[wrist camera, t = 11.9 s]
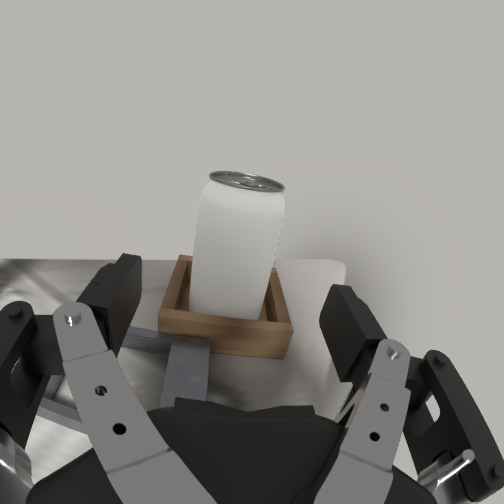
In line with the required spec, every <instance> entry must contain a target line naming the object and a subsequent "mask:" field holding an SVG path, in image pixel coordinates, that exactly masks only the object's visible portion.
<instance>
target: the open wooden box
mask: <svg viewBox="0 0 504 504" xmlns="http://www.w3.org/2000/svg"><path fill="white" fill-rule="evenodd" d="M192 261H193V256H186V255H179V258H178V261H177V263H176V266H175V269H174V272H173V274H172V277H171V280H170V283H169V285H168V288H167V291H166V294H165V297H164V300H163V302H162V305H161V308H160V311H159V314H158V332H163V333H169V334H175V335H182V336H188V337H195V338H203V339H210V340H211V342H210V352H211V353H220V354H229V355H239V356H250V357H263V358H279V359H283V358H284V356H285V353H286V350H287V348H288V345H289V342H290V340H291V337H292V334H293V329H292V325H291V321H290V318H289V314H288V310H287V306H286V303H285V299H284V296H283V292H282V288H281V285H280V281H279V277H278V274H277V270H276V268H272V270H271V274H270V278H269V282H268V286H267V290H266V294H265V298H264V301H263V305H262V309H261V313H260V316H259V319H258V320H249V319H240V318H231V317H223V316H215V315H208V314H201V313H193V312H190V310H189V295H190V282H191V271H192Z"/></svg>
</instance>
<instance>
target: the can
mask: <svg viewBox="0 0 504 504" xmlns="http://www.w3.org/2000/svg"><path fill="white" fill-rule="evenodd" d="M209 177H210V180H209V182H208V184H207V185H206V186H205V188H204V190H203V191H202V193H201V197H200V203H199V210H198V218H197V225H196V234H195V242H194V252H193V261H192V271H191V282H190V295H189V310H190V312H193V313H201V314H208V315H215V316H223V317H231V318H240V319H249V320H258V319H259V316H260V313H261V309H262V305H263V301H264V298H265V294H266V290H267V286H268V282H269V278H270V274H271V270H272V266H273V262H274V258H275V254H276V249H277V245H278V241H279V237H280V233H281V229H282V224H283V219H284V215H285V202H284V199H283V190H284V189H285V187H284V186H283V185H282V184H281V183H279V182H276V181H274V180H271V179H268V178H265V177H261V176H257V175H252V174H247V173H241V172H232V171H231V172H230V171H216V172H212V173H210V174H209Z"/></svg>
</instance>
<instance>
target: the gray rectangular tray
mask: <svg viewBox="0 0 504 504" xmlns="http://www.w3.org/2000/svg"><path fill="white" fill-rule="evenodd" d="M56 310H57V309H56ZM53 315H54V313H53ZM210 342H211V340H210V339H203V338H195V337H188V336H182V335H175V334H169V333H163V332H157V331H151V330H146V329H141V328H135V327H130V326H129V328H128V331H127V333H126V336H125V338H124V341H123V343H122V346H123V347H128V348H132V349H137V350H142V351H148V352H153V353H159V354H164V355H169V359H168V364H167V368H166V373H165V378H164V383H163V388H162V393H161V398H160V403H159V408H163V407H171V406H174V403H175V397H180V398H187V399H194V400H202V401H207V385H208V369H209V355H210ZM62 378H63V376H60V375H51V378H50V380H49V382H48V385H47V387H46V390H45V392H44V395H43V397H42V400H41V402H40V405H39V408H38V411H37V413H36V414H37V415H39V416H41V417H43V418H46V419H48V420H51V421H53V422H55V423H58V424H60V425H63V426H66V427H68V428H71V429H74V430H76V431H79V432H82V433H85V434H87V432H86V430H85V427H84V425H83V423H82V420H81V418H80V415H79V412H78V410H76V409H73V408H70V407H67V406H65V405H62V404H59V403H57V402H54V401H52V400H53V398H54V395H55V393H56V391H57V389H58V387H59V385H60V383H61V380H62Z"/></svg>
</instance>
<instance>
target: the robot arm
mask: <svg viewBox="0 0 504 504" xmlns="http://www.w3.org/2000/svg"><path fill="white" fill-rule="evenodd" d="M141 292H142V260H141V257H140V256H137V255H131V254H125V253H123V254H122V255H121V257H120V258H119V259H118V260H117V262H116V263H115V264H112V263H109V264H107V265H105V266H104V267H102V268H100V270H99V271H98V272H97V274H96V275H95V277H94V278H93V279H92V280H91V282H90V283H89V284H88V286H87V287H86V288H85V290H84V291H83V292H82V294H81V295H80V297H79V298H78V299H77V301H76V302H70V303H66V304H64V305H62V306H60V307H59V308H58V309H57V310H56V311H55V312H54V315H34V312H33V308H32V306H31V305H30V304H29V303H27V302H24V301H15V302H12V303H9V304H8V305H6V306H5V307H4V308H3V309H2V310H1V311H0V504H477V503H479V502H481V501H482V500H484V499H486V498H487V497H489V496H490V495H492V494H493V493H495V492H497V491H498V490H500V489H501V488H503V486H504V460H503V458H502V455H501V453H500V451H499V449H498V446H497V444H496V442H495V440H494V438H493V436H492V434H491V432H490V430H489V428H488V426H487V424H486V422H485V420H484V418H483V416H482V414H481V412H480V410H479V408H478V406H477V405H476V403H475V401H474V399H473V398H472V396H471V394H470V392H469V391H468V389H467V387H466V385H465V384H464V382H463V380H462V379H461V377H460V375H459V374H458V372H457V370H456V369H455V367H454V365H453V364H452V363H451V361H450V359H449V358H448V357H447V356H446V355H445V354H443V353H442V352H440V351H437V350H430V351H428V352H427V353H426V355H425V356H424V358H423V359H420V358H416V357H412V356H410V353H409V351H408V350H407V348H406V347H405V346H404V345H402V344H401V343H399V342H398V341H395V340H392V339H388V338H387V337H386V335H385V333H384V332H383V330H382V328H381V327H380V325H379V323H378V322H377V321H376V319H375V317H374V315H373V314H372V312H371V311H370V309H369V308H368V306H367V305H366V304H365V303H364V302H363V301H362V300H361V299H359V298H357V296H356V294H355V293H354V291H353V290H352V288H351V287H350V286H346V285H338V284H333V285H332V286H331V288H330V290H329V293H328V295H327V298H326V300H325V303H324V306H323V308H322V311H321V313H320V318H319V324H320V328H321V331H322V333H323V336H324V339H325V341H326V344H327V347H328V349H329V352H330V355H331V357H332V360H333V363H334V365H335V368H336V371H337V374H338V376H339V379H340V382H352V384H353V385H352V387H351V388H350V390H349V392H348V394H347V396H346V398H345V400H344V402H343V404H342V406H341V408H340V411H339V412H338V414H337V416H336V418H335V420H334V421H333V420H330V419H328V418H325V417H322V416H318V415H315V411H314V407H313V405H309V406H278V407H273V408H268V409H263V410H257V411H251V412H245V411H241V410H237V409H234V408H230V407H227V406H224V405H220V404H217V403H214V402H211V401H202V400H194V399H187V398H180V397H175V403H174V406H171V407H163V408H158V409H154V410H151V411H148V412H145V410H144V408H143V407H142V405H141V403H140V402H139V400H138V398H137V396H136V395H135V393H134V391H133V389H132V388H131V386H130V384H129V382H128V380H127V378H126V376H125V375H124V373H123V371H122V369H121V367H120V365H119V363H118V361H117V359H116V358H117V356H118V353H119V351H120V348H121V346H122V343H123V341H124V338H125V336H126V333H127V331H128V328H129V326H130V324H131V321H132V319H133V316H134V314H135V312H136V310H137V307H138V305H139V302H140V299H141ZM17 361H18V362H17ZM16 362H17V364H16ZM15 364H16V365H15ZM14 366H15V367H14ZM13 368H14V369H13ZM12 370H13V371H12ZM11 372H12V373H11ZM51 375H60V376H66V378H67V381H68V384H69V387H70V390H71V393H72V396H73V399H74V402H75V404H76V407H77V410H78V412H79V415H80V418H81V420H82V423H83V425H84V427H85V430H86V432H87V434H88V437H89V439H90V441H91V443H92V445H93V448H91V449H90V450H88V451H87V452H85V453H84V454H82V455H81V456H79V457H77V458H76V459H74V460H73V461H71V462H70V463H68V464H66V465H65V466H63V467H62V468H60V469H58V470H57V471H55V472H53V473H52V474H50V475H48V476H47V477H45V478H43V479H42V480H40V481H38V482H37V483H36V484H35V485H33V482H32V478H31V476H32V473H31V469H32V467H31V461H30V458H29V456H28V454H27V453H26V452H25V451H24V450H25V447H26V444H27V440H28V437H29V434H30V431H31V428H32V425H33V422H34V419H35V416H36V413H37V411H38V408H39V405H40V402H41V400H42V397H43V395H44V392H45V390H46V387H47V385H48V382H49V380H50V378H51ZM432 395H434V397H435V399H436V401H437V403H438V405H439V408H440V416H439V418H438V420H437V421H436V422H435V423H434V421H433V418H432V416H431V414H430V412H429V410H428V407H427V405H426V401H427V400H428V399H429V398H430V397H431V396H432ZM402 430H403V433H404V436H405V439H406V441H407V444H408V447H409V450H410V453H411V456H412V459H413V462H414V465H415V468H416V471H417V475H418V480H417V481H415V480H414V479H412V478H411V477H409V476H408V475H406V474H405V473H404V472H402V471H401V470H399V469H398V468H397V467H395V466H394V465H393V461H394V458H395V455H396V451H397V448H398V444H399V441H400V437H401V434H402Z"/></svg>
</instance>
